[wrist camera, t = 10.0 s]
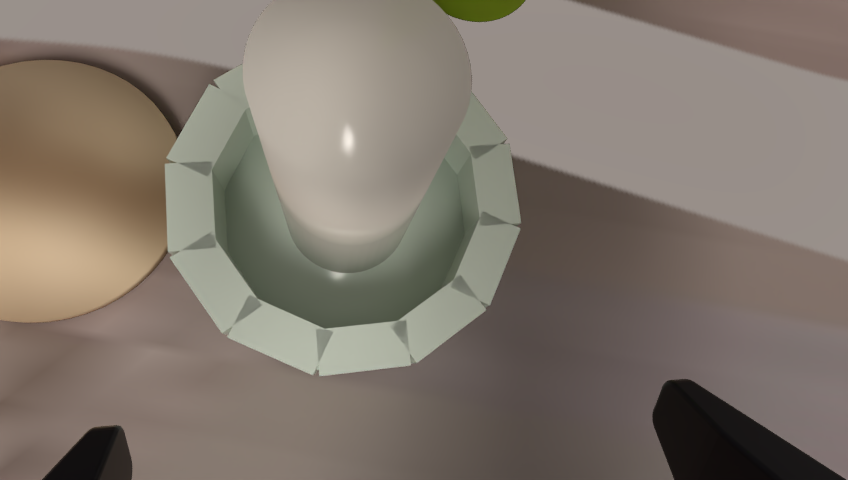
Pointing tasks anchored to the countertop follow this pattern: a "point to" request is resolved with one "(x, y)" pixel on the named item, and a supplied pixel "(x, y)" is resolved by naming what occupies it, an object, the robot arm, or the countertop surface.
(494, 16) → the soap dispenser
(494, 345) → the countertop surface
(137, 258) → the cork mat
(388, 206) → the white dome-topped cylinder
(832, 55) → the countertop surface
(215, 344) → the countertop surface
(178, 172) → the bowl
